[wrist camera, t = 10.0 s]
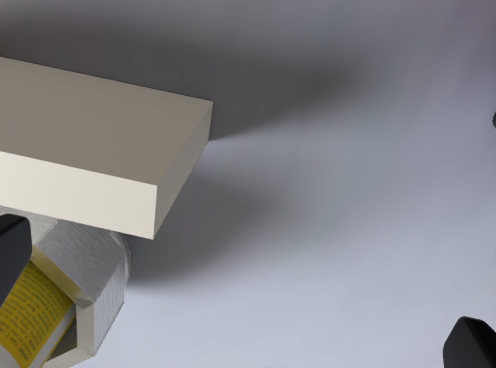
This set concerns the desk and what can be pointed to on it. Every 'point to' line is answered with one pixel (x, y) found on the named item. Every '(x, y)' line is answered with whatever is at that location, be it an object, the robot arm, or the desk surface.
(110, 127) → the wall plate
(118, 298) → the cup bracket
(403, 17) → the desk surface
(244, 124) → the desk surface
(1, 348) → the supplement bottle
